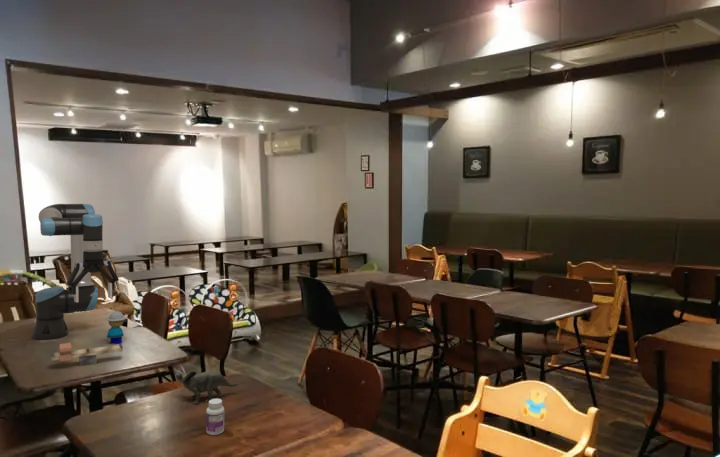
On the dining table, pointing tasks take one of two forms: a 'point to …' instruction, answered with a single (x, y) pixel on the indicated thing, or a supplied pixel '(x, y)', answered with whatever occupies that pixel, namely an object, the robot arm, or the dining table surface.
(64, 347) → the pink block
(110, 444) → the dining table surface
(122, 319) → the toy
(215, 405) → the pill bottle
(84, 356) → the beam
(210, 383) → the dinosaur figurine
